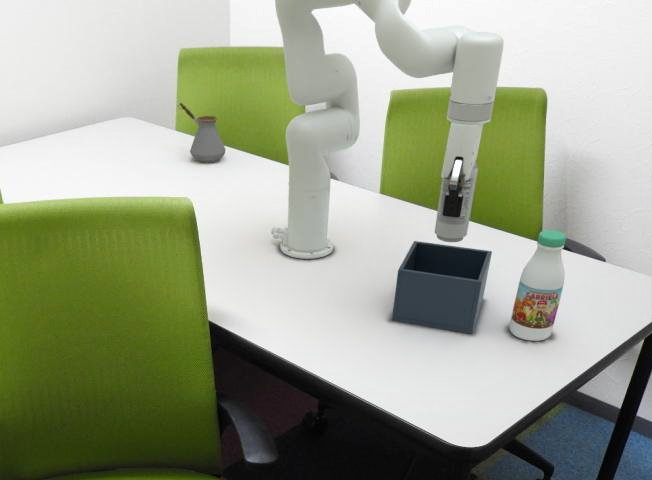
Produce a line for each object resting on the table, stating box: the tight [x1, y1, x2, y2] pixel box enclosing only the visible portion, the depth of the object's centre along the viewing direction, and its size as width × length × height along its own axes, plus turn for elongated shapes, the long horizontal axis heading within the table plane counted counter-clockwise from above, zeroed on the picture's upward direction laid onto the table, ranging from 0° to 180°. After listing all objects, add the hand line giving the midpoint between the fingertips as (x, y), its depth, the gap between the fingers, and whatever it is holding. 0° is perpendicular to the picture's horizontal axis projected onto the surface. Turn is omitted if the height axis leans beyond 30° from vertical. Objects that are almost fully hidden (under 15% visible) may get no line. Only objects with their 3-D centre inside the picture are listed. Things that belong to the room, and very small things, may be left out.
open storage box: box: [391, 240, 493, 335], centre depth 152 cm, size 16×16×11 cm
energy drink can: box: [434, 160, 479, 243], centre depth 142 cm, size 6×6×15 cm
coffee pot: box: [177, 102, 226, 164], centre depth 244 cm, size 21×12×15 cm, turn 35°
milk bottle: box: [509, 229, 567, 342], centre depth 141 cm, size 8×8×20 cm
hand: (454, 209), depth 143 cm, fingers closed on energy drink can, 6 cm apart
